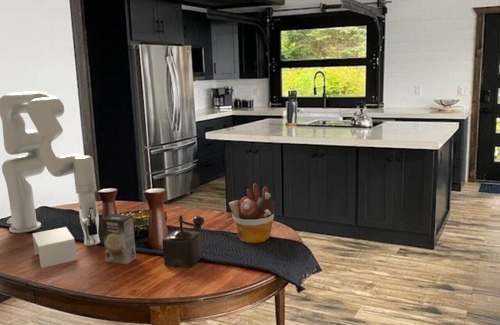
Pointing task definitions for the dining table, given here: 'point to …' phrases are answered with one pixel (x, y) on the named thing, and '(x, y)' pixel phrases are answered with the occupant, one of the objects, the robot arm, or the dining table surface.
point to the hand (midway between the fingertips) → (90, 231)
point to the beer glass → (84, 223)
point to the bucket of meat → (253, 216)
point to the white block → (54, 246)
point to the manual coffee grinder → (183, 245)
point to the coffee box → (119, 238)
